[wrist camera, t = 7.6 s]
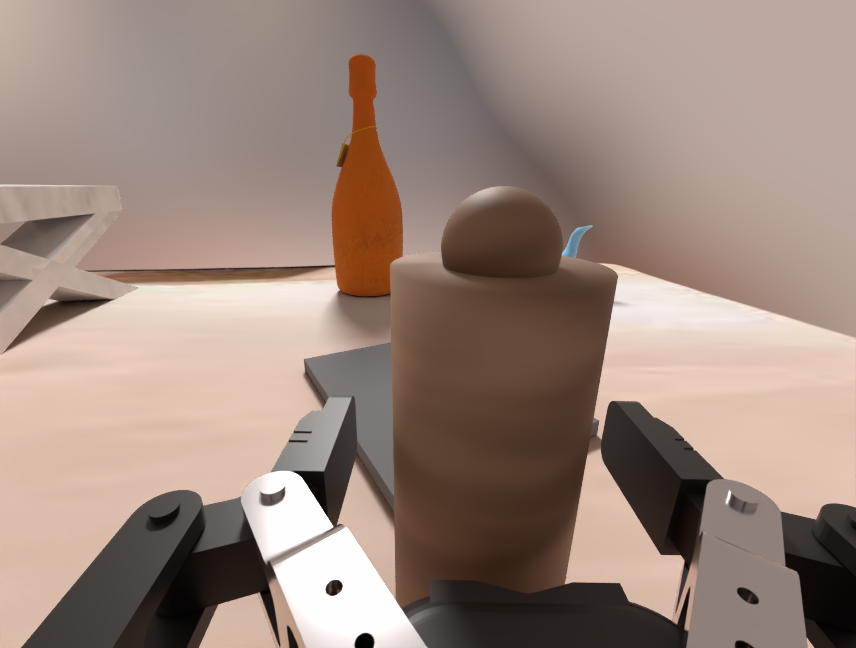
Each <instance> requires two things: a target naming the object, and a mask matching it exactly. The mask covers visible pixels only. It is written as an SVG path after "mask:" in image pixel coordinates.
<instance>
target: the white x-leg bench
mask: <svg viewBox="0 0 856 648" xmlns="http://www.w3.org/2000/svg"><path fill="white" fill-rule="evenodd" d="M122 211H123V209H122V204H121V200H120V195H119V191H118V187H117V186H70V185H69V186H68V185H63V186H62V185H0V224H3V223H12V222H21V221H27V222H25V223H24V224H23V225H22V226H21V227H20V228H19V229H17V230H16V231H15V232H14V233H13V234H12V235H11V236H9V237H8V238H7V239H6V240H5V241H3V242H2V243H1V244H0V355H1V354H2V353H3V352H4V351H5V350H6V349H7V347H8V346H9V345H10V344H11V343H12V341H13V340H14V339H15V338H16V337H17V336H18V334H19V333H20V332H21V331H22V330H23V328H24V327H25V326H26V325H27V324H28V322H29V321H30V320H31V319H32V318H33V317H34V315H35V314H36V313H37V312H38V311H39V309H40V308H41V307H42V306H43V305H44V303H45V302H46V301H47V300H48V299H51V300H57V301H79V300H112V299H117V298H119V297H121V296H123V295H125V294H127V293H129V292H131V291H133V290H135V289H137V288H138V287H134V286H131V285H128V284H125V283H122V282H119V281H115V280H112V279H109V278H106V277H103V276H99V275H96V274H93V273H90V272H87V271H83V270H80V269H77V268H75V267H76V265H77V264H78V263H79V262H80V261H81V260H82V258H83V257H84V256H85V255H86V254H87V252H88V251H89V250H90V249H91V248H92V246H93V245H94V244H95V243H96V242H97V241H98V239H99V238H100V237H101V236H102V234H103V233H104V232H105V231H106V230H107V229H108V227H109V226H110V225H111V224H112V223H113V221H114V220H115V219H116V218H117V217H118V216H119V214H120V213H121V212H122Z"/></svg>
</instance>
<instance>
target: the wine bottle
mask: <svg viewBox="0 0 856 648" xmlns="http://www.w3.org/2000/svg"><path fill="white" fill-rule="evenodd" d="M375 68H376V67H375V61H374V59H373V58H372V57H370V56H368V55H364V54H357V55H353V56H352V57H351V58H350V60H349V73H350V75H349V94H350V96H351V97H352V98H353V103H354V104H353V105H354V106H353V128H352V133H351V134H352V137H351V142H350V144H349V145H346V144H345V141H344V144H342V147H341V151H340V155H339V158H338V162H337V166H338V167H342V169H341V172H340V175H339V177H338V181H337V184H336V188H335V192H334V198H333V203H332V233H333V245H334V246H333V247H334V259H335V270H336V278H337V285H338V288H339V289H340V290H341V291H342V292H344V293H347V294H350V295H355V296H381V295H386V294H390V293H391V288H390V264H391V263H392V262H393V261H394V260H396V259H398V258H401V257H402V252H403V246H402V245H403V235H402V234H403V230H402V228H403V227H402V209H401V203H400V198H399V195H398V191H397V188H396V185H395V182H394V179H393V177H392V174H391V172H390V169H389V167H388V165H387V162H386V160H385V157H384V155H383V152H382V150H381V147H380V144H379V140H378V135H377V131H376V124H375V114H374V106H373V99H374V98H375V97H376V93H377V92H376V84H375ZM351 134H350V135H351ZM350 135H348V136H350ZM348 136H347V137H348ZM347 137H346V138H347ZM345 140H346V139H345Z"/></svg>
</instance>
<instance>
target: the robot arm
mask: <svg viewBox="0 0 856 648" xmlns="http://www.w3.org/2000/svg"><path fill="white" fill-rule="evenodd" d="M356 451H357V425H356V406H355V398H354V396H334V395H331V396H329V398H328V400H327V402H326V404H325V406H324V408H323V410H322V411H311V412H310V413H309V414H307V415H306V416H305V417H303V418H302V419H301V420H300V421H299V423H298V425H297V426H296V428H295V430H294V433H292V435H291V437H290V439H289V442H287V444H286V446H285V448H284V449H283V451H282V453H281V455H280V457H279V458H278V460H277V462H276V464H275V465H274V467H273V469H272V471H271V473H268V474H265V475H263V476H260V477H259V478H257V479H255V480H254V481H252V482H251V483H250V484H249V485H248V486H247V487H246V488H245V489H244V491H243V493H242V496H241V497H239V498H236V499H232V500H228V501H223V502H219V503H214V504H209V505H205V506H203V503H202V499H201V497H200V496H199V494H197V493H196V492H193V491H189V490H177V491H172V492H168V493H165V494H162V495H159V496H157V497H155V498H153V499H151V500H149V501H148V502H146V503H145V504H143V505H142V506H140V507H139V508H138V509H137V510H136V511H135V512H134V513H133V514H132V515H131V516H130V518H129V519H128V520H127V521H126V522H125V524H124V525H123V526H122V527H121V528H120V530H119V531H118V532H117V533H116V534H115V536H114V537H113V538H112V539H111V540H110V542H109V543H108V544H107V545H106V546H105V548H104V549H103V550H102V551H101V552H100V554H99V555H98V556H97V557H96V558H95V560H94V561H93V562H92V563H91V564H90V566H89V567H88V568H87V569H86V571H85V572H84V573H83V574H82V575H81V577H80V578H79V579H78V580H77V581H76V583H75V584H74V585H73V586H72V587H71V589H70V590H69V591H68V592H67V593H66V595H65V596H64V597H63V598H62V599H61V601H60V602H59V603H58V604H57V605H56V607H55V608H54V609H53V610H52V611H51V613H50V614H49V615H48V616H47V617H46V619H45V620H44V621H43V622H42V623H41V625H40V626H39V627H38V628H37V629H36V631H35V632H34V633H33V634H32V635H31V637H30V638H29V639H28V640H27V641H26V643H25V644H24V645H23V646H22V647H21V648H199V646H200V644H201V641H202V639H203V637H204V635H205V632H206V630H207V628H208V626H209V624H210V621H211V619H212V617H213V615H214V612H215V610H216V608H217V606H218V604H221V603H224V602H228V601H231V600H235V599H238V598H242V597H245V596H249V595H252V594H255V593H257V594H258V597H259V600H260V603H261V606H262V609H263V611H264V614H265V617H266V620H267V623H268V626H269V628H270V631H271V634H272V637H273V640H274V643H275V646H276V648H808V647H807V638H808V640H809V641H810V642H811V644H812V645H813V646H814V647H815V648H856V508H855V507H852V506H848V505H843V504H826V505H824V506H823V507H822V508H821V510H820V512H819V515H818V517H817V519H816V520H815V519H811V518H806V517H802V516H798V515H793V514H789V513H785V512H780V510H779V508H778V506H777V505H776V504H775V503H774V502H773V501H772V500H771V499H770V498H769V497H767V496H766V495H765V494H763V493H762V492H760V491H758V490H756V489H755V488H752V487H750V486H748V485H746V484H743V483H740V482H737V481H732V480H727V479H724V478H723V477H722V476H721V475H720V474H719V473H718V472H717V471H716V470H715V469H714V468H713V467H712V466H711V465H710V464H709V463H708V462H707V461H706V460H705V459H704V458H703V457H702V456H701V455H700V454H699V453H698V452H697V451H694V450H693V447H692V446H691V445H690V444H689V443H688V442H687V441H684V438H683V437H682V436H681V435H680V434H679V433H678V432H677V431H676V430H675V429H674V428H673V427H671V426H669V425H668V424H666V423H664V422H663V421H661V420H659V419H658V418H654V417H653V416H652V415H651V414H650V413H649V412H648V411H647V410H646V409H645V408H644V407H643V406H642V405H641V404H640V403H639V402H636V401H612V402H610V404H609V406H608V409H607V415H606V420H605V425H604V431H603V436H602V441H601V454H602V459H603V461H604V464H605V466H606V467H607V469H608V470H609V472H610V474H611V475H612V477H613V478H614V480H615V482H616V483H617V485H618V486H619V488H620V490H621V491H622V493H623V495H624V496H625V498H626V499H627V501H628V503H629V504H630V506H631V507H632V509H633V511H634V512H635V514H636V515H637V517H638V519H639V520H640V522H641V524H642V525H643V527H644V528H645V530H646V532H647V533H648V535H649V536H650V538H651V540H652V541H653V543H654V544H655V546H656V548H657V549H658V551H659V553H660V554H661V555H681V556H682V557H683V559H684V563H683V567H682V570H681V575H680V580H679V585H678V590H677V596H676V601H675V606H674V612H673V617H672V621H671V620H669V619H668V618H666V617H664V616H662V615H661V614H659V613H657V612H655V611H653V610H650V609H648V608H646V607H643V606H641V605H638V604H635V603H632V602H629V601H628V599H627V597H626V595H625V593H624V591H623V589H622V587H621V584H620V583H577V582H573V583H569V584H565V585H561V586H557V587H553V588H550V589H546V590H542V591H538V592H534V593H522V592H518V591H514V590H511V589H507V588H503V587H499V586H495V585H492V584H488V583H484V582H480V581H474V580H430V596H429V597H425V598H421V599H418V600H416V601H413V602H411V603H409V604H407V605H405V606H403V607H402V608H400V607H399V605H398V604H397V602H396V601H395V599H394V598H393V596H392V595H391V593H390V592H389V590H388V589H387V587H386V586H385V584H384V583H383V581H382V580H381V578H380V577H379V575H378V574H377V572H376V571H375V569H374V568H373V566H372V565H371V563H370V562H369V560H368V559H367V558H366V556H365V555H364V553H363V552H362V550H361V549H360V547H359V546H358V544H357V543H356V541H355V540H354V538H353V537H352V535H351V534H350V532H349V531H348V529H347V528H346V527H345V526H344V525H343V524H339V525H337V522H338V518H339V515H340V511H341V508H342V504H343V501H344V497H345V494H346V490H347V486H348V483H349V479H350V476H351V472H352V469H353V465H354V461H355V458H356ZM806 637H807V638H806Z"/></svg>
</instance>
